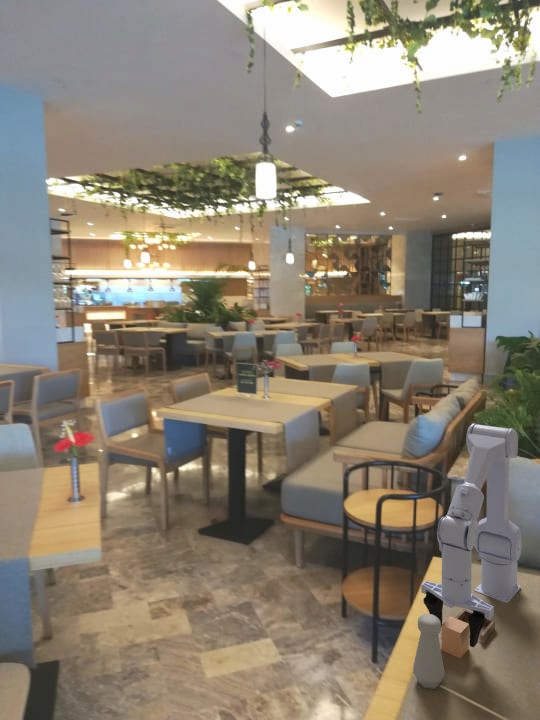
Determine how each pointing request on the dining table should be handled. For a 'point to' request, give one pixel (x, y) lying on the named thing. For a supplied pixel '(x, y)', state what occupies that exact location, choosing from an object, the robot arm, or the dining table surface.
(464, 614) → the box
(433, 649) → the salt shaker
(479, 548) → the robot arm
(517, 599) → the dining table surface
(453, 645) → the block
